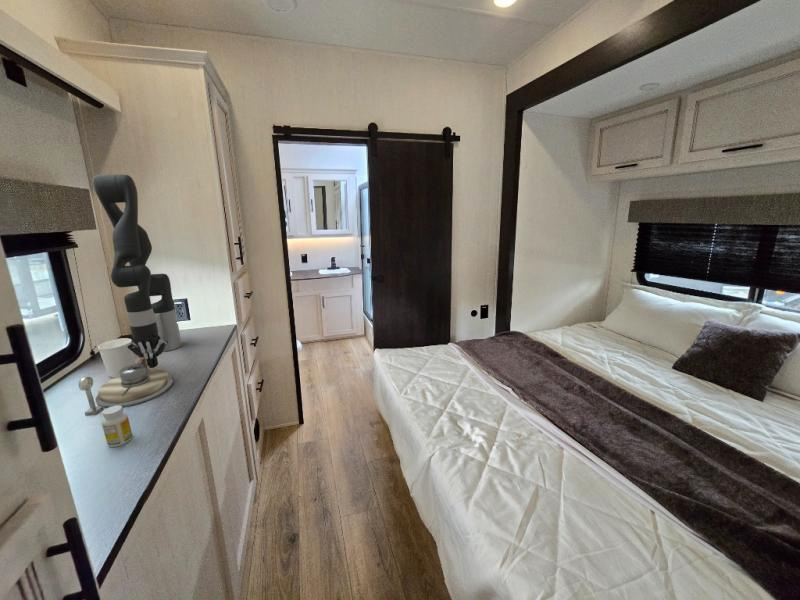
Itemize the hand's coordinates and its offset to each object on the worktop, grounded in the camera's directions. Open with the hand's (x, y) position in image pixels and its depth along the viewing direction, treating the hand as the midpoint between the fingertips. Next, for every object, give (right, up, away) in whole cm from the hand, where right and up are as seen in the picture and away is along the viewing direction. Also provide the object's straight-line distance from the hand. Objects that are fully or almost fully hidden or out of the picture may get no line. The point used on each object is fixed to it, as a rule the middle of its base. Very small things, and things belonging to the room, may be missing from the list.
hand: (153, 366), depth 124 cm
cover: (0, -4, -8) cm, 9 cm away
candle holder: (-16, -3, +6) cm, 17 cm away
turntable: (-1, -5, -7) cm, 9 cm away
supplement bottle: (+14, -14, -32) cm, 38 cm away
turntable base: (-1, -7, -7) cm, 10 cm away
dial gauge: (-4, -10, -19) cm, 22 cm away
